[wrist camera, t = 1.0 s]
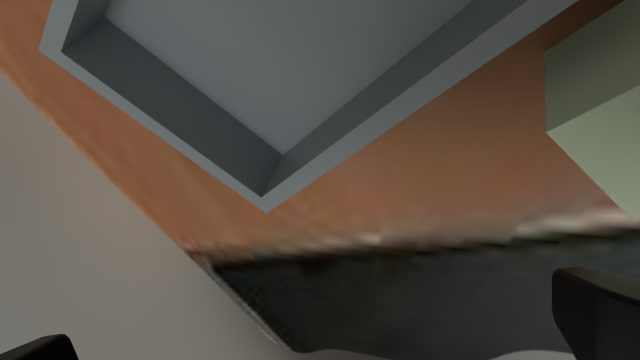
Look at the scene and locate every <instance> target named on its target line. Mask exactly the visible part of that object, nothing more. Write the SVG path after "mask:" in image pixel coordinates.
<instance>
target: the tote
mask: <svg viewBox="0 0 640 360" xmlns="http://www.w3.org/2000/svg"><path fill="white" fill-rule="evenodd" d="M577 1H578V0H53V2H52V5H51V8H50V12H49V15H48V19H47V22H46V26H45V29H44V32H43V36H42V39H41V43H40V46H39V50H38V51H40V52H41V53H43V54H44V55H45V56H47V57H48V58H50V59H51V60H52V61H54V62H55V63H57V64H58V65H59V66H61V67H62V68H64V69H65V70H66V71H68V72H69V73H71V74H72V75H73V76H75V77H76V78H78V79H79V80H80V81H82V82H83V83H84V84H86V85H87V86H89V87H90V88H91V89H93V90H94V91H96V92H97V93H98V94H100V95H101V96H103V97H104V98H105V99H107V100H108V101H110V102H111V103H112V104H114V105H115V106H117V107H118V108H119V109H121V110H122V111H124V112H125V113H126V114H128V115H129V116H131V117H132V118H133V119H135V120H136V121H137V122H139V123H140V124H142V125H143V126H144V127H146V128H147V129H149V130H150V131H151V132H153V133H154V134H156V135H157V136H158V137H160V138H161V139H163V140H164V141H165V142H167V143H168V144H170V145H171V146H172V147H174V148H175V149H177V150H178V151H179V152H181V153H182V154H184V155H185V156H186V157H188V158H189V159H190V160H192V161H193V162H195V163H196V164H197V165H199V166H200V167H202V168H203V169H204V170H206V171H207V172H209V173H210V174H211V175H213V176H214V177H216V178H217V179H218V180H220V181H221V182H223V183H224V184H225V185H227V186H228V187H230V188H231V189H232V190H234V191H235V192H237V193H238V194H239V195H241V196H242V197H243V198H245V199H246V200H248V201H249V202H250V203H252V204H253V205H255V206H256V207H257V208H259V209H260V210H262V211H263V212H264V213H268V212H269V211H271V210H272V209H274V208H275V207H277V206H278V205H279V204H281V203H282V202H284V201H285V200H287V199H288V198H290V197H291V196H293V195H294V194H296V193H297V192H299V191H300V190H301V189H303V188H304V187H306V186H307V185H309V184H310V183H312V182H313V181H315V180H316V179H318V178H319V177H320V176H322V175H323V174H325V173H326V172H328V171H329V170H331V169H332V168H334V167H335V166H337V165H338V164H339V163H341V162H342V161H344V160H345V159H347V158H348V157H350V156H351V155H353V154H354V153H356V152H357V151H359V150H360V149H361V148H363V147H364V146H366V145H367V144H369V143H370V142H372V141H373V140H375V139H376V138H378V137H379V136H380V135H382V134H383V133H385V132H386V131H388V130H389V129H391V128H392V127H394V126H395V125H397V124H398V123H399V122H401V121H402V120H404V119H405V118H407V117H408V116H410V115H411V114H413V113H414V112H416V111H417V110H419V109H420V108H421V107H423V106H424V105H426V104H427V103H429V102H430V101H432V100H433V99H435V98H436V97H438V96H439V95H440V94H442V93H443V92H445V91H446V90H448V89H449V88H451V87H452V86H454V85H455V84H457V83H458V82H459V81H461V80H462V79H464V78H465V77H467V76H468V75H470V74H471V73H473V72H474V71H476V70H477V69H479V68H480V67H481V66H483V65H484V64H486V63H487V62H489V61H490V60H492V59H493V58H495V57H496V56H498V55H499V54H500V53H502V52H503V51H505V50H506V49H508V48H509V47H511V46H512V45H514V44H515V43H517V42H518V41H519V40H521V39H522V38H524V37H525V36H527V35H528V34H530V33H531V32H533V31H534V30H536V29H537V28H539V27H540V26H541V25H543V24H544V23H546V22H547V21H549V20H550V19H552V18H553V17H555V16H556V15H558V14H559V13H560V12H562V11H563V10H565V9H566V8H568V7H569V6H571V5H572V4H574V3H575V2H577Z"/></svg>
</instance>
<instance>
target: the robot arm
mask: <svg viewBox="0 0 640 360" xmlns="http://www.w3.org/2000/svg"><path fill="white" fill-rule="evenodd" d="M552 313H553V317H554V320H555V323H556V325H557V327H558V328H559V330H560V332H561V334H562V335H563V337H564V339H565V340H566V342H567V344H568V346H569V347H570V349H571V351H572V353H573V354H574V356H575V358H576V359H577V360H640V279H638V278H633V277H628V276H624V275H619V274H614V273H609V272H604V271H599V270H594V269H589V268H584V267H579V266H574V267H566V268H559V269H556V270H555V271H554V272H553V275H552ZM0 360H79V359H78V357H77V354H76V352H75V350H74V348H73V345H72V343H71V340H70V338H69V337H68V336H66V335H64V334H57V335H50V336H44V337H41V338H39V339H36V340H34V341H31V342H29V343H26V344H24V345H21V346H19V347H17V348H14V349H12V350H9V351H7V352H4V353H2V354H0Z"/></svg>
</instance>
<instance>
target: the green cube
mask: <svg viewBox="0 0 640 360" xmlns="http://www.w3.org/2000/svg"><path fill="white" fill-rule="evenodd" d="M544 82H545V119H546V133H547V134H548V135H549V136H550V137H551V138H552V139H553V140H554V141H555V142H556V143H557V144H558V145H559V146H560V147H561V148H562V149H563V150H564V151H565V152H566V153H567V154H568V155H569V156H570V158H571V159H572V160H573V161H574V162H575V163H576V164H577V165H578V166H579V167H580V168H581V169H582V170H583V171H584V172H585V173H586V174H587V175H588V176H589V177H590V178H591V179H592V180H593V181H594V182H595V183H596V184H597V185H598V186H599V187H600V188H601V189H602V190H603V191H604V192H605V193H606V194H607V195H608V196H609V197H610V198H611V199H612V200H613V201H614V202H615V203H616V204H617V205H618V206H619V207H620V208H621V209H622V210H623V211H624V212H625V213H626V214H627V215H628V216H629V217H630V218H631V219H635V218H638V217H640V0H624V1H623V2H621V3H620V4H618V5H616V6H615V7H613V8H612V9H610V10H609V11H607V12H605V13H604V14H602V15H601V16H599V17H598V18H596V19H595V20H593V21H591V22H590V23H588V24H587V25H585V26H584V27H582V28H580V29H579V30H577V31H576V32H574V33H573V34H571V35H569V36H568V37H566V38H565V39H563V40H562V41H560V42H558V43H557V44H555V45H554V46H552V47H551V48H549V49H548V50H546V51H544Z"/></svg>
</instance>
